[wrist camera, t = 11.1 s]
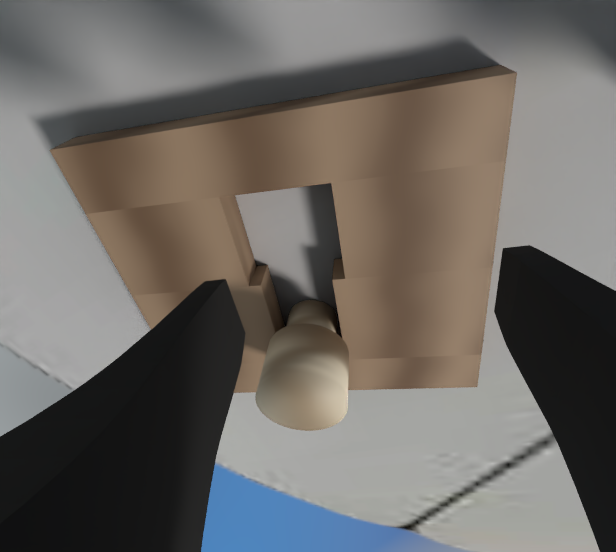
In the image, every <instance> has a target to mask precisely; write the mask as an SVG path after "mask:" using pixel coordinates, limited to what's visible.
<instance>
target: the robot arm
mask: <svg viewBox="0 0 616 552" xmlns="http://www.w3.org/2000/svg"><path fill="white" fill-rule="evenodd" d="M494 312H495V315H496V318H497V320H498V323H499V326H500V329H501V332H502V334H503V337H504V340H505V342H506V345H507V347H508V349H509V351H510V353H511V355H512V357H513V359H514V361H515V363H516V364H517V366H518V368H519V370H520V372H521V374H522V376H523V378H524V379H525V381H526V383H527V385H528V387H529V389H530V391H531V392H532V394H533V396H534V398H535V400H536V402H537V404H538V405H539V407H540V409H541V411H542V413H543V415H544V417H545V419H546V420H547V422H548V424H549V426H550V428H551V430H552V432H553V434H554V436H555V439H556V441H557V443H558V445H559V447H560V450H561V452H562V455H563V457H564V460H565V462H566V464H567V467H568V469H569V472H570V474H571V477H572V479H573V481H574V484H575V486H576V489H577V492H578V494H579V497H580V499H581V502H582V505H583V507H584V510H585V512H586V515H587V518H588V520H589V523H590V525H591V528H592V531H593V533H594V536H595V539H596V542H597V544H598V547H599V550H600V552H616V291H615V290H613V289H611V288H609V287H607V286H605V285H603V284H601V283H599V282H597V281H596V280H594V279H592V278H590V277H588V276H586V275H584V274H583V273H581V272H579V271H577V270H575V269H573V268H572V267H570V266H568V265H566V264H564V263H563V262H561V261H559V260H557V259H555V258H553V257H552V256H550V255H548V254H546V253H544V252H542V251H540V250H538V249H536V248H534V247H532V246H530V245H529V246H520V247H511V248H503V252H502V259H501V266H500V274H499V281H498V288H497V296H496V303H495V310H494ZM245 334H246V333H245V330H244V327H243V325H242V322H241V319H240V316H239V314H238V311H237V308H236V305H235V303H234V300H233V297H232V295H231V292H230V289H229V286H228V284H227V281H226V279H220V280H211V281H205V282H203V283H202V284H201V285H200V286H198V287H197V288H196V289H195V290H194V291H193V292H192V293H190V294H189V295H188V296H187V297H186V298H185V299H184V300H183V301H182V302H181V303H180V304H179V305H178V306H176V307H175V308H174V309H173V310H172V311H171V312H170V313H169V314H168V315H167V316H166V317H165V318H163V319H162V320H161V321H160V322H159V323H158V324H157V325H156V326H155V327H154V328H153V329H152V330H150V331H149V332H148V333H147V334H146V335H145V336H143V337H142V338H141V339H140V340H139V341H138V342H136V343H135V344H134V345H133V346H132V347H130V348H129V349H128V350H127V351H126V352H125V353H123V354H122V355H121V356H120V357H119V358H117V359H116V360H115V361H114V362H112V363H111V364H110V365H109V366H107V367H106V368H105V369H103V370H102V371H101V372H99V373H98V374H97V375H95V376H94V377H92V378H91V379H90V380H88V381H87V382H86V383H84V384H83V385H81V386H80V387H79V388H77V389H76V390H74V391H73V392H71V393H70V394H68V395H67V396H65V397H64V398H62V399H61V400H59V401H57V402H56V403H54V404H53V405H51V406H50V407H48V408H47V409H45V410H43V411H42V412H40V413H39V414H37V415H36V416H34V417H33V418H31V419H29V420H28V421H26V422H25V423H23V424H21V425H19V426H18V427H16V428H14V429H13V430H11V431H9V432H7V433H6V434H4V435H2V436H1V437H0V552H201V546H202V538H203V531H204V525H205V518H206V512H207V505H208V498H209V493H210V487H211V481H212V476H213V471H214V465H215V459H216V455H217V450H218V446H219V442H220V438H221V435H222V431H223V428H224V424H225V421H226V417H227V414H228V410H229V407H230V403H231V400H232V396H233V393H234V389H235V386H236V382H237V379H238V375H239V371H240V368H241V363H242V356H243V350H244V342H245Z"/></svg>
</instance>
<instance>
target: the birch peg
mask: <svg viewBox="0 0 616 552" xmlns="http://www.w3.org/2000/svg"><path fill="white" fill-rule="evenodd" d="M348 374H349V350H348V347H347V345H346V343H345V342H344V340H343V339H342V338H341V337H340V336H339V335H338V334H337V314H336V312H335V311H334V309H333V308H332V307H330V306H329V305H328V304H326V303H324V302H321V301H317V300H305V301H301V302H299V303H297V304H296V305H294V306H293V307H292V309H291V310H290V312H289V317H288V321H287V326H286V327H284V328H282V329H280V330H279V331H277V332H276V333H275V334H274V335H273V336H272V338H271V339H270V342H269V345H268V349H267V353H266V357H265V360H264V364H263V368H262V372H261V376H260V380H259V384H258V388H257V392H256V403H257V406H258V408H259V409H260V411H261V412H262V413H263V414H264V415H265V416H266V417H267V418H269V419H270V420H272V421H273V422H275V423H277V424H279V425H282V426H284V427H288V428H291V429H296V430H305V431H313V430H321V429H325V428H329V427H331V426H334V425H335V424H337V423H339V422H340V421H341V420H342V419H343V418H344V417H345V415H346V413H347V409H348Z"/></svg>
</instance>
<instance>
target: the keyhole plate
mask: <svg viewBox="0 0 616 552" xmlns="http://www.w3.org/2000/svg"><path fill="white" fill-rule="evenodd" d="M516 76H517V72H515V71H512V70H510V69H508V68H506V67H504V66H502V65H496V66H490V67H484V68H479V69H473V70H467V71H461V72H455V73H449V74H443V75H437V76H432V77H426V78H420V79H414V80H408V81H402V82H396V83H391V84H385V85H379V86H373V87H367V88H361V89H355V90H350V91H344V92H338V93H332V94H326V95H320V96H314V97H309V98H303V99H297V100H291V101H285V102H279V103H273V104H267V105H262V106H256V107H250V108H244V109H238V110H232V111H226V112H221V113H215V114H209V115H203V116H197V117H191V118H185V119H180V120H174V121H168V122H162V123H156V124H150V125H144V126H139V127H133V128H127V129H121V130H115V131H109V132H103V133H97V134H92V135H86V136H80V137H75V138H73V139H71V140H69V141H67V142H65V143H63V144H61V145H59V146H57V147H55V148H53V149H51V150H50V152H51V153H52V155H53V157H54V159H55V160H56V162H57V164H58V166H59V168H60V169H61V171H62V173H63V175H64V176H65V178H66V180H67V182H68V183H69V185H70V187H71V189H72V191H73V192H74V194H75V196H76V198H77V199H78V201H79V203H80V205H81V206H82V208H83V210H84V212H85V214H86V215H87V217H88V219H89V221H90V222H91V224H92V226H93V228H94V229H95V231H96V233H97V235H98V237H99V238H100V240H101V242H102V244H103V245H104V247H105V249H106V251H107V252H108V254H109V256H110V258H111V259H112V261H113V263H114V265H115V267H116V268H117V270H118V272H119V274H120V275H121V277H122V279H123V281H124V282H125V284H126V286H127V288H128V290H129V291H130V293H131V295H132V297H133V298H134V300H135V302H136V304H137V305H138V307H139V309H140V311H141V313H142V314H143V316H144V318H145V320H146V321H147V323H148V325H149V327H150V328H151V330H152V329H153V328H154V327H155V326H156V325H157V324H158V323H159V322H160V321H161V320H162V319H163V318H165V317H166V316H167V315H168V314H169V313H170V312H171V311H172V310H173V309H174V308H175V307H176V306H178V305H179V304H180V303H181V302H182V301H183V300H184V299H185V298H186V297H187V296H188V295H189V294H190V293H192V292H193V291H194V290H195V289H196V288H197V287H198V286H200V285H201V284H202V283H203V282H205V281H211V280H220V279H226V281H227V284H228V286H229V289H230V292H231V295H232V297H233V300H234V303H235V305H236V308H237V311H238V314H239V316H240V319H241V322H242V325H243V327H244V330H245V333H246V334H245V342H244V350H243V356H242V363H241V368H240V371H239V375H238V379H237V382H236V386H235V389H234V393H242V392H257V388H258V384H259V380H260V376H261V372H262V368H263V364H264V360H265V357H266V353H267V349H268V345H269V342H270V339H271V338H272V336H273V335H274V334H275V333H276V332H277V331H279V330H280V329H282V328H284V327H285V324H284V321H283V317H282V314H281V310H280V307H279V303H278V300H277V296H276V293H275V289H274V286H273V282H272V279H271V275H270V272H269V268H268V265H263V266H256V263H255V260H254V257H253V253H252V250H251V247H250V244H249V240H248V237H247V234H246V231H245V227H244V224H243V221H242V217H241V214H240V211H239V208H238V204H237V201H236V198H235V195H240V194H248V193H256V192H264V191H272V190H280V189H288V188H296V187H304V186H312V185H319V184H327V183H331V185H332V192H333V198H334V205H335V212H336V219H337V226H338V233H339V239H340V246H341V253H342V259H334V266H333V277H332V281H333V287H334V293H335V299H336V305H337V310H338V316H339V322H340V328H341V334H342V337H341V338H342V339H343V340H344V342H345V343H346V345H347V347H348V350H349V374H348V390H370V389H413V388H456V387H477V385H478V377H479V369H480V361H481V353H482V345H483V337H484V329H485V321H486V314H487V306H488V298H489V290H490V282H491V274H492V266H493V258H494V250H495V242H496V234H497V227H498V219H499V211H500V203H501V195H502V187H503V179H504V171H505V163H506V155H507V148H508V140H509V132H510V124H511V116H512V108H513V100H514V92H515V84H516Z"/></svg>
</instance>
